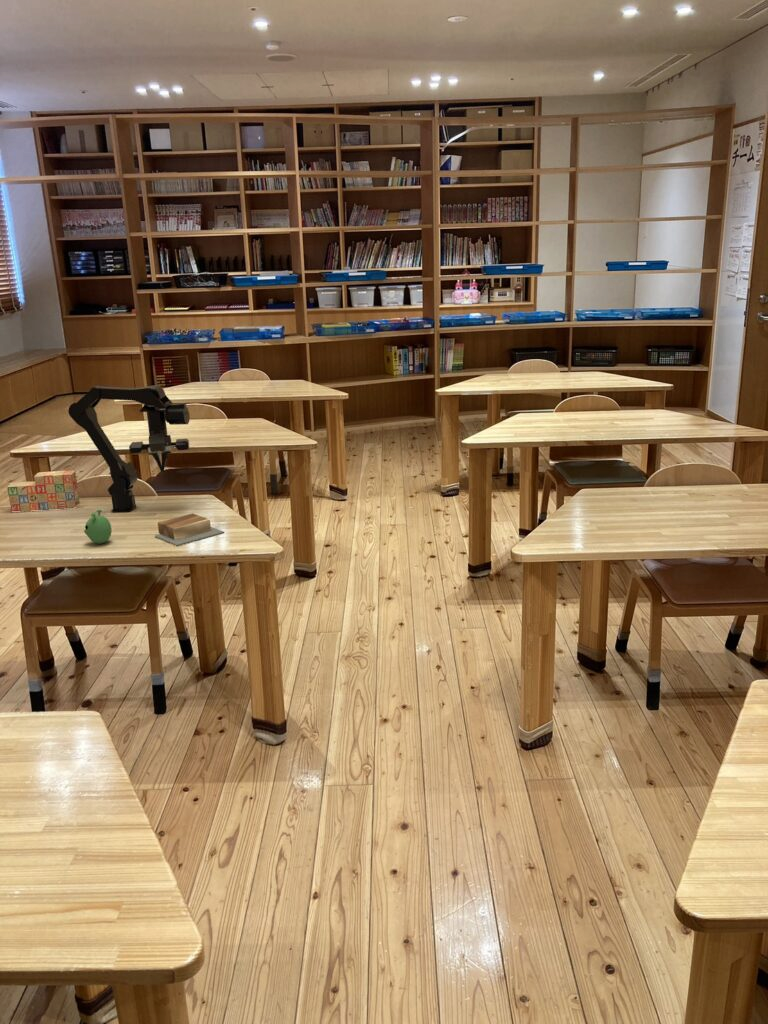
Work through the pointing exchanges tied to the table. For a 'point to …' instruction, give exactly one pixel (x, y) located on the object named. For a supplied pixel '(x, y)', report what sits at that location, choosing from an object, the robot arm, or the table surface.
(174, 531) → the slab
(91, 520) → the alien toy
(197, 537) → the mat
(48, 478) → the stack of blocks
